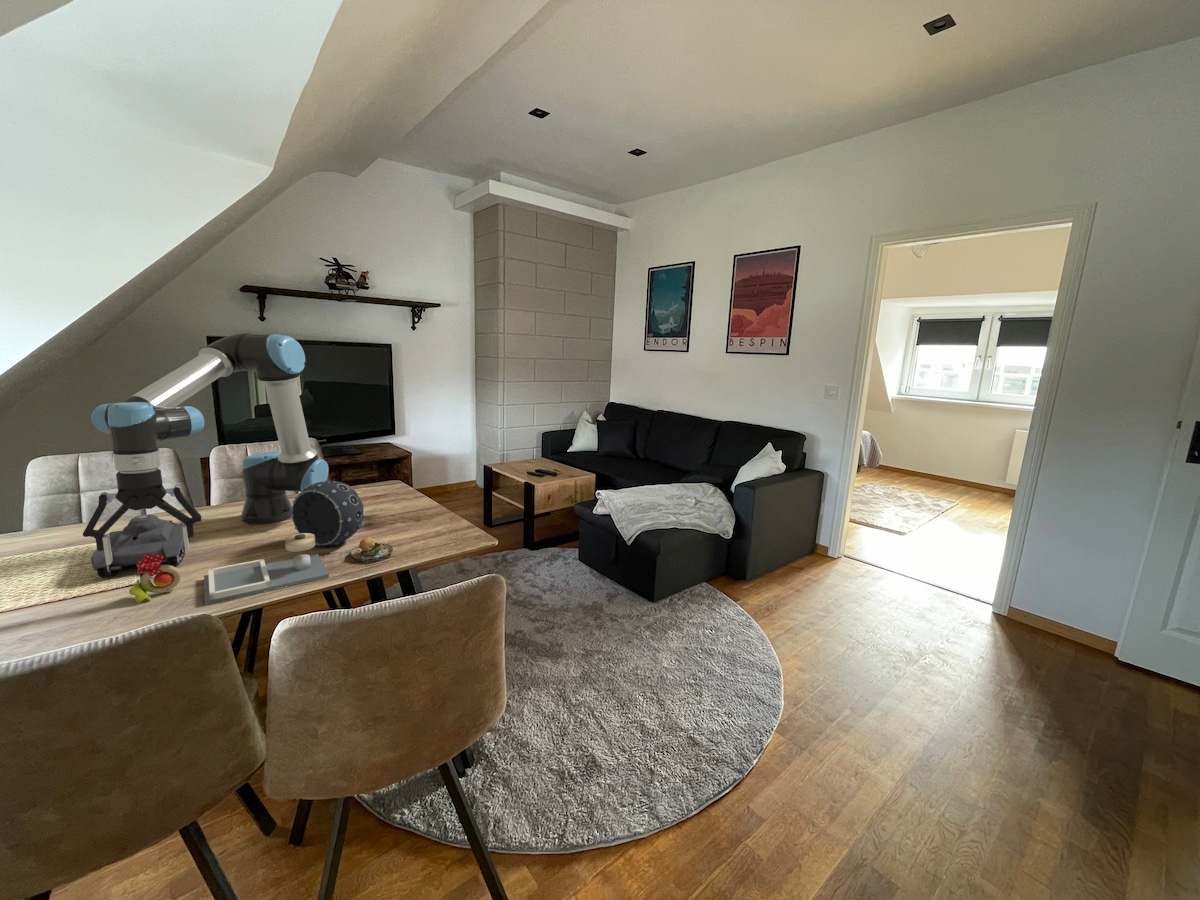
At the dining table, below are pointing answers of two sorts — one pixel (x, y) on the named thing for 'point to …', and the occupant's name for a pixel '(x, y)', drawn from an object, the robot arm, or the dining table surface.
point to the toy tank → (142, 544)
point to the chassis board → (260, 577)
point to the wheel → (300, 542)
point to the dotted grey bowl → (328, 512)
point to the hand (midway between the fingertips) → (149, 556)
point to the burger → (370, 551)
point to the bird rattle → (163, 579)
